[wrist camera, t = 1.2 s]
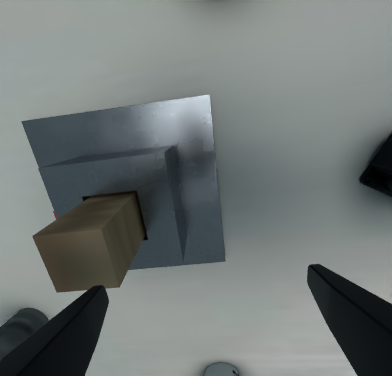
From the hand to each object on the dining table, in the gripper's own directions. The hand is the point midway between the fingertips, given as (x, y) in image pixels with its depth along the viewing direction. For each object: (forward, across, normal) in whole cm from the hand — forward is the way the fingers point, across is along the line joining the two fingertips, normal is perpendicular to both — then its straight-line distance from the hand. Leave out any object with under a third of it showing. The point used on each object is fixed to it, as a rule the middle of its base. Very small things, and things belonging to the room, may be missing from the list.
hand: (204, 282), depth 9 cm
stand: (+14, +7, 0) cm, 15 cm away
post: (+14, +7, 0) cm, 15 cm away
